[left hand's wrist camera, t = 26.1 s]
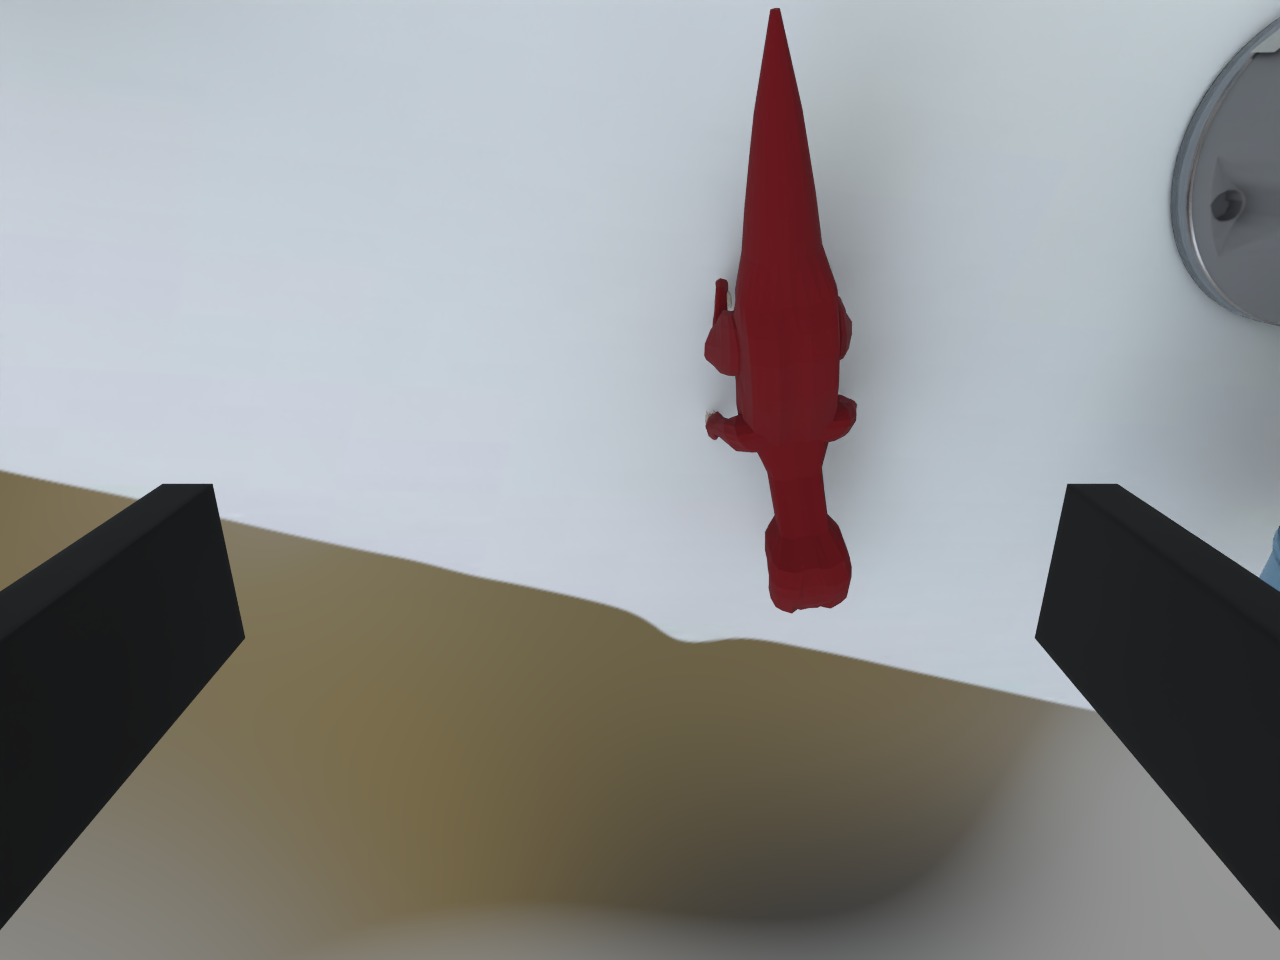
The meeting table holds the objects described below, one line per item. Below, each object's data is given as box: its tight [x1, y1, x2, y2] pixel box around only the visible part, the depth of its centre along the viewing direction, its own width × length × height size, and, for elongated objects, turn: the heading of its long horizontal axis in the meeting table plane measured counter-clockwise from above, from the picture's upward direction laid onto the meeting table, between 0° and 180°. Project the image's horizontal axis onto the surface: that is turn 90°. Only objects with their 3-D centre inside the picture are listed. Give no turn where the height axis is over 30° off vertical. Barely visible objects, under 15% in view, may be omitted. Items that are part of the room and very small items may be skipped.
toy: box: [704, 8, 857, 613], centre depth 36 cm, size 7×27×11 cm, turn 9°
